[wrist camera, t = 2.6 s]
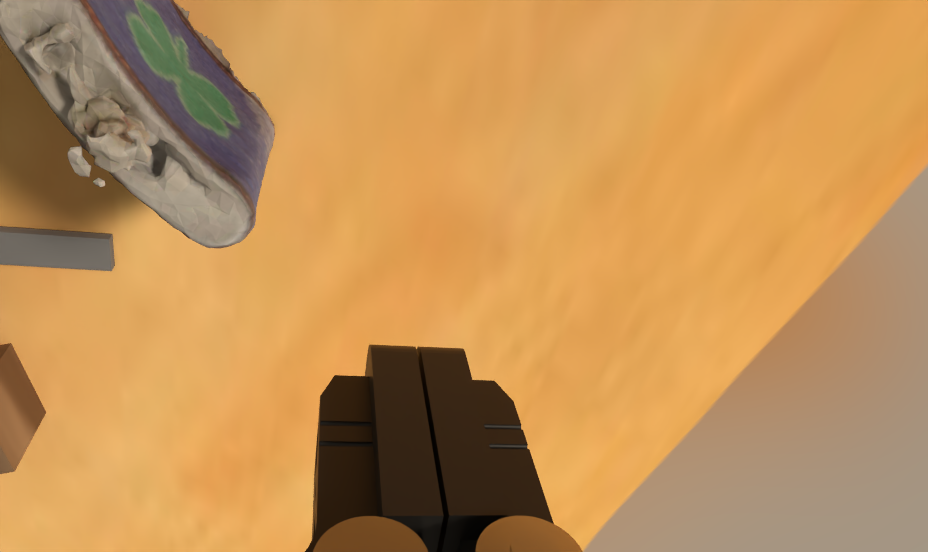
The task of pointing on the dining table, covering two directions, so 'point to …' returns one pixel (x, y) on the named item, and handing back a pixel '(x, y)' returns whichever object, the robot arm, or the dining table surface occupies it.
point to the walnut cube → (16, 410)
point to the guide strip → (56, 249)
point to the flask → (149, 107)
